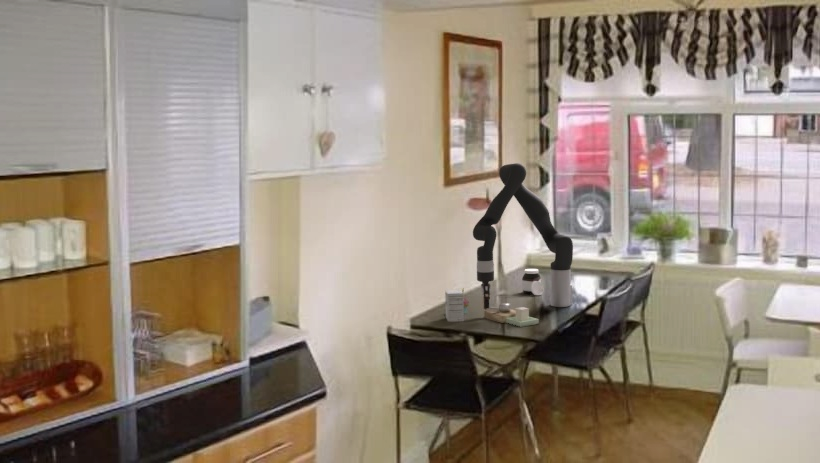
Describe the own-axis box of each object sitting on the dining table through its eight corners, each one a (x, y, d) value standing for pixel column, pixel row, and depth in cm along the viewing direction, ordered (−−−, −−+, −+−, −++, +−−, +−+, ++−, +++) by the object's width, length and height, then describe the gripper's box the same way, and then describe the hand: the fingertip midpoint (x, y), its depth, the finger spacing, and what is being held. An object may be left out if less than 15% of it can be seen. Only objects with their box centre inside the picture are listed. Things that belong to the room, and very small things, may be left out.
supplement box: (445, 318, 436) (444, 290, 434) (461, 317, 437) (461, 289, 435) (447, 321, 429) (446, 293, 427) (464, 321, 429) (463, 292, 428)
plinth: (507, 313, 442) (507, 306, 442) (525, 318, 431) (525, 311, 431) (484, 317, 435) (484, 310, 435) (502, 323, 424) (502, 315, 424)
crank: (512, 310, 434) (512, 294, 433) (508, 312, 429) (508, 296, 428) (485, 307, 440) (485, 292, 439) (481, 310, 435) (481, 294, 434)
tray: (523, 319, 430) (523, 315, 430) (538, 323, 422) (538, 319, 421) (505, 322, 425) (505, 318, 424) (520, 327, 416) (520, 322, 416)
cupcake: (471, 311, 448) (470, 286, 446) (466, 315, 440) (465, 289, 438) (453, 310, 450) (452, 285, 449) (447, 314, 443) (447, 288, 441)
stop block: (522, 320, 426) (522, 306, 425) (528, 322, 422) (528, 308, 422) (515, 321, 424) (515, 308, 423) (521, 323, 420) (521, 309, 419)
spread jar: (529, 290, 494) (529, 267, 493) (549, 292, 488) (549, 269, 486) (517, 294, 484) (517, 271, 483) (538, 296, 478) (538, 273, 476)
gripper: (495, 273, 424) (495, 309, 427) (492, 266, 438) (493, 301, 441) (477, 273, 424) (478, 310, 427) (476, 267, 438) (476, 302, 441)
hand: (486, 305), depth 434 cm, fingers open, 8 cm apart
